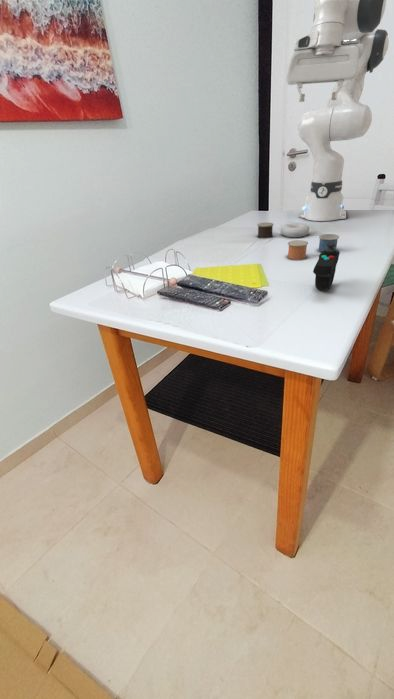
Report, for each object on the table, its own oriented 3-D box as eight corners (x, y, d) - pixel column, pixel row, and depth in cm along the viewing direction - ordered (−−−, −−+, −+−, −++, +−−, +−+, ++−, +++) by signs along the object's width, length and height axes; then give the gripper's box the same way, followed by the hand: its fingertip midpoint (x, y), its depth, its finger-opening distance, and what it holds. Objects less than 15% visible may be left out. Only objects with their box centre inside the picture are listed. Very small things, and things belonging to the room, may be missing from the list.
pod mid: (290, 253, 106) (291, 239, 103) (308, 255, 103) (310, 240, 101) (284, 258, 102) (285, 244, 99) (303, 260, 99) (305, 246, 97)
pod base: (260, 233, 129) (260, 222, 127) (275, 234, 126) (275, 222, 124) (254, 237, 125) (255, 225, 123) (269, 238, 122) (270, 226, 120)
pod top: (319, 247, 109) (321, 233, 107) (338, 248, 106) (340, 234, 104) (315, 252, 105) (317, 238, 103) (335, 253, 102) (337, 239, 100)
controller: (336, 281, 84) (342, 241, 78) (328, 301, 75) (334, 257, 69) (318, 280, 85) (323, 240, 80) (308, 299, 76) (313, 255, 71)
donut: (281, 239, 121) (310, 238, 119) (281, 229, 119) (311, 228, 117) (280, 232, 129) (308, 231, 127) (281, 223, 127) (308, 221, 125)
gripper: (363, 41, 97) (353, 100, 103) (291, 49, 102) (285, 104, 109) (366, 34, 91) (354, 96, 98) (289, 41, 97) (283, 100, 103)
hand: (317, 100), depth 103 cm, fingers open, 8 cm apart
